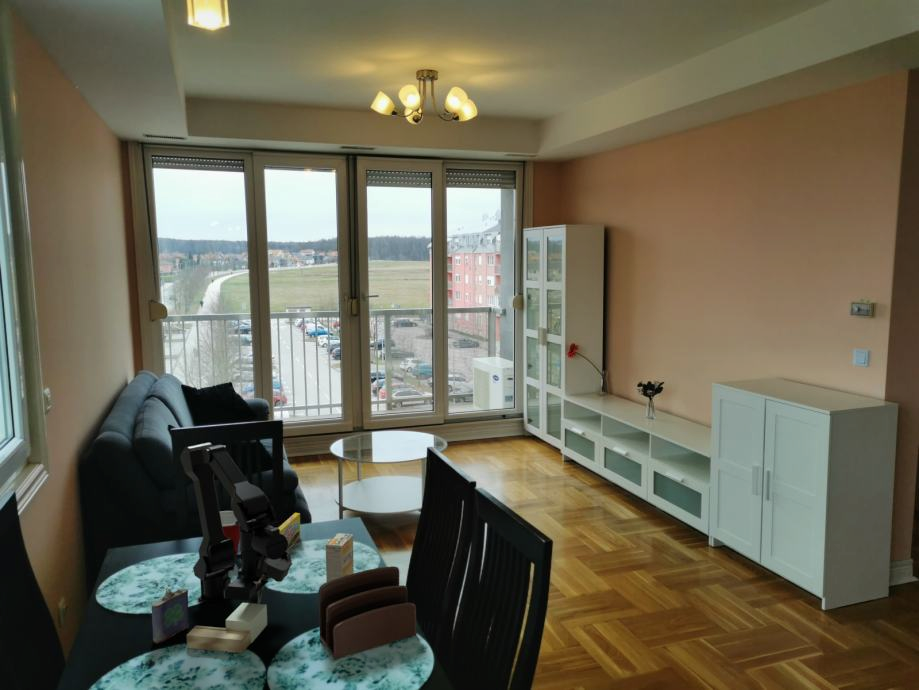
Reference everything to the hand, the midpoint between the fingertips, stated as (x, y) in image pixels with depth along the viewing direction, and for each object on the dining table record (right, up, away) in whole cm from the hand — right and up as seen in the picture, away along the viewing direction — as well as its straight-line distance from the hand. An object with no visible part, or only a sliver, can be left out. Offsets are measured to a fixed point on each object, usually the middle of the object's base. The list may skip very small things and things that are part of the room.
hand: (256, 608), depth 161 cm
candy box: (-3, +1, +42) cm, 42 cm away
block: (-1, -4, -5) cm, 6 cm away
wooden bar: (-5, -4, -10) cm, 12 cm away
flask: (-18, -4, -5) cm, 19 cm away
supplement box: (+17, -1, +18) cm, 24 cm away
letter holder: (+28, -4, -7) cm, 29 cm away
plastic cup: (-19, +1, +37) cm, 41 cm away
